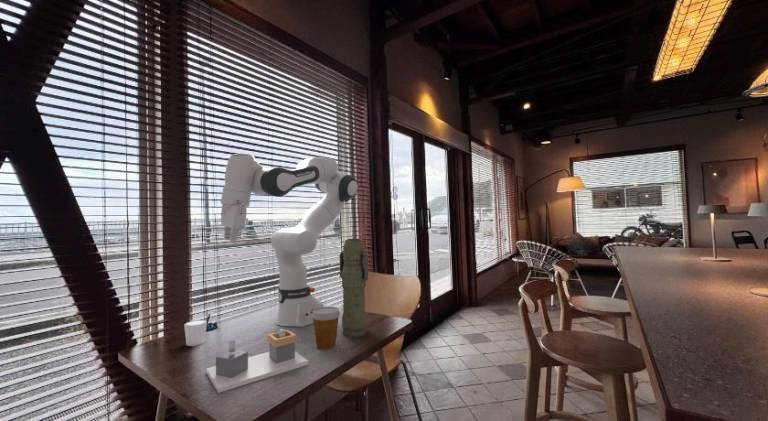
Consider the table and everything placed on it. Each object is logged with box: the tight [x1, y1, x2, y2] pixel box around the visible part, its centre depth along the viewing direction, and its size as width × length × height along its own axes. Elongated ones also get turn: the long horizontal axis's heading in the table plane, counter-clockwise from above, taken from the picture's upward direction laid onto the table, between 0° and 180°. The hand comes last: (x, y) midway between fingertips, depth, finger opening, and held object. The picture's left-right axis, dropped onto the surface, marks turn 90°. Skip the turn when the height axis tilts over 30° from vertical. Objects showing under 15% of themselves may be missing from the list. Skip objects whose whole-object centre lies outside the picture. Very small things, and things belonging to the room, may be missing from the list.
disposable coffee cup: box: [311, 306, 341, 351], centre depth 110 cm, size 10×10×12 cm
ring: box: [267, 329, 298, 347], centre depth 99 cm, size 6×6×2 cm
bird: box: [205, 313, 219, 332], centre depth 130 cm, size 8×7×8 cm
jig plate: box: [205, 328, 309, 394], centre depth 94 cm, size 24×14×10 cm, turn 129°
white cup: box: [183, 319, 207, 347], centre depth 115 cm, size 7×7×7 cm
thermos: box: [339, 238, 369, 339], centre depth 122 cm, size 9×12×35 cm
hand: (229, 240), depth 111 cm, fingers open, 8 cm apart
